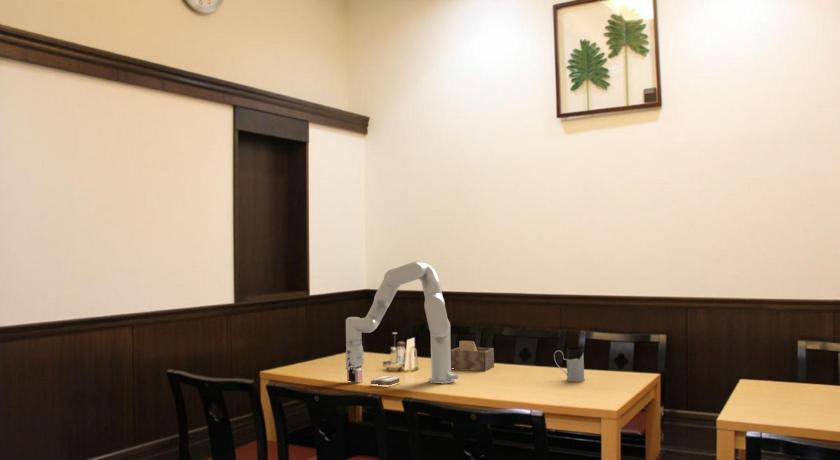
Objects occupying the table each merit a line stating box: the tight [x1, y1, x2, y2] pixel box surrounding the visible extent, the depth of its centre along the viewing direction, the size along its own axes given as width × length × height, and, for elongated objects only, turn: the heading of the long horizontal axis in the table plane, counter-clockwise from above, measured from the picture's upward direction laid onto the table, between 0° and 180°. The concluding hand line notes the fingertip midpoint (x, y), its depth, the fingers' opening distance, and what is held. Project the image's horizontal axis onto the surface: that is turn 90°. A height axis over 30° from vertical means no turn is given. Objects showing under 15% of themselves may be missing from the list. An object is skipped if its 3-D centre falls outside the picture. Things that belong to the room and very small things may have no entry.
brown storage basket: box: [451, 347, 495, 372], centre depth 357 cm, size 20×14×10 cm
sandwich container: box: [458, 340, 478, 371], centre depth 358 cm, size 9×15×15 cm, turn 152°
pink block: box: [346, 367, 363, 383], centre depth 324 cm, size 6×4×6 cm, turn 64°
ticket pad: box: [370, 375, 401, 385], centre depth 316 cm, size 10×10×3 cm
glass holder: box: [553, 346, 586, 382], centre depth 319 cm, size 9×14×15 cm, turn 78°
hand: (354, 380), depth 324 cm, fingers closed on pink block, 4 cm apart
